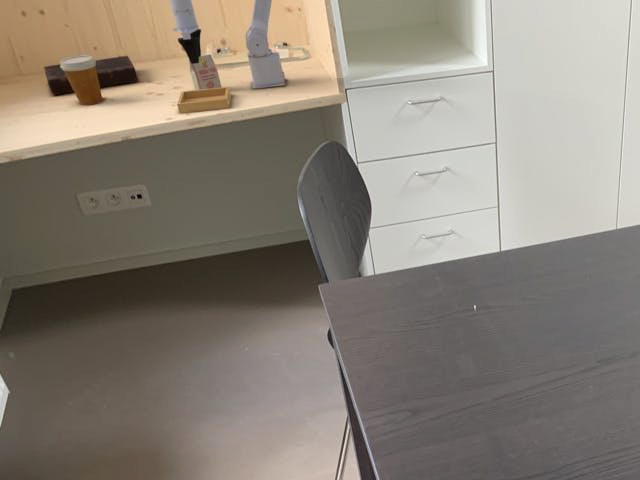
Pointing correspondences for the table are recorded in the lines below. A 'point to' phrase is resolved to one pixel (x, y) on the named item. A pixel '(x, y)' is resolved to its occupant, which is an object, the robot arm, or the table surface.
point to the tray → (204, 99)
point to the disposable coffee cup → (83, 78)
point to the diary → (106, 70)
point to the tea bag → (205, 73)
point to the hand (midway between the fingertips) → (196, 59)
